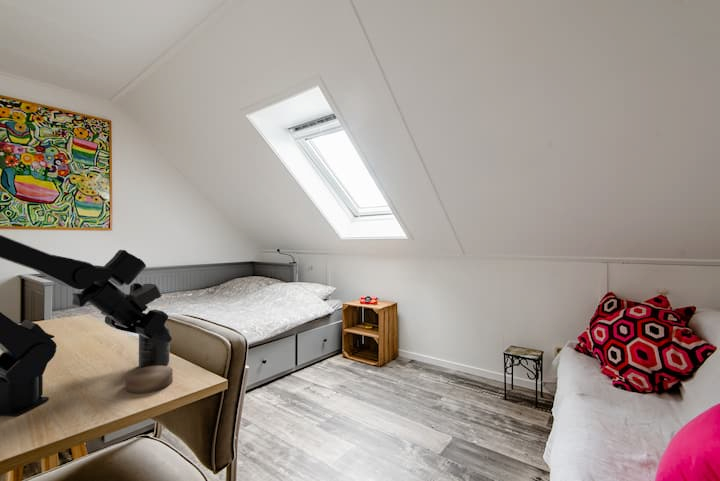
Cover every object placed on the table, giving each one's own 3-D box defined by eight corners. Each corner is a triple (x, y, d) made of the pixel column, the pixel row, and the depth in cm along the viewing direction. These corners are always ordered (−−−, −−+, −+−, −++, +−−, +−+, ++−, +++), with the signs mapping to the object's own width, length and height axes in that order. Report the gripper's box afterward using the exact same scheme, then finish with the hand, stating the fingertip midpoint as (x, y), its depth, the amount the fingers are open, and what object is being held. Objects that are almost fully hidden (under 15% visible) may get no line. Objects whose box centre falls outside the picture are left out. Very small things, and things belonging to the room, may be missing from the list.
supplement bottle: (174, 364, 92) (175, 317, 92) (146, 372, 86) (147, 322, 86) (161, 358, 96) (161, 313, 96) (133, 366, 90) (133, 318, 90)
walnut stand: (156, 394, 75) (156, 382, 75) (115, 392, 76) (115, 380, 75) (180, 376, 84) (180, 366, 84) (143, 375, 84) (143, 364, 84)
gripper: (160, 277, 82) (202, 315, 92) (118, 271, 92) (161, 306, 102) (122, 318, 76) (173, 355, 85) (82, 307, 85) (131, 341, 95)
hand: (159, 337), depth 92 cm, fingers open, 9 cm apart
